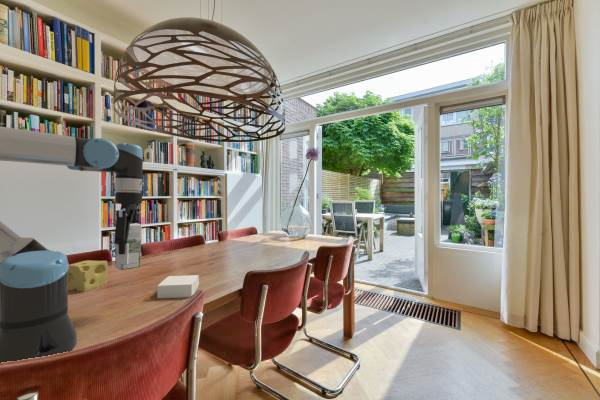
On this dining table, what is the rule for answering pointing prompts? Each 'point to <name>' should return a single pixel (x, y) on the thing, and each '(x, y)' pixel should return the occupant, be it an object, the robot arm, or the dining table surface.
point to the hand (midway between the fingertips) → (127, 261)
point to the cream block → (178, 286)
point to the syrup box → (131, 248)
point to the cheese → (87, 275)
